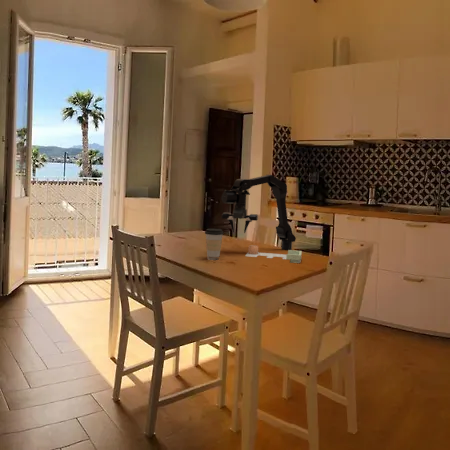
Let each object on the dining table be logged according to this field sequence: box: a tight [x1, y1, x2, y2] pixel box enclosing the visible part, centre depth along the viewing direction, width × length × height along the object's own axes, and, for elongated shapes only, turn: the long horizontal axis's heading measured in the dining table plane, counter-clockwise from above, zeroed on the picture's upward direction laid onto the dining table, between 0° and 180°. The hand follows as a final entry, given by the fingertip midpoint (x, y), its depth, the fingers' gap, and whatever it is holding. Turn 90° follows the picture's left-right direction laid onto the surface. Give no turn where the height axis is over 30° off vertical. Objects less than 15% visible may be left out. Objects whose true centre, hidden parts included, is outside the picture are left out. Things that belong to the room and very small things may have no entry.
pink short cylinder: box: [248, 244, 259, 254], centre depth 244 cm, size 5×5×4 cm
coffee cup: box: [204, 228, 225, 261], centre depth 232 cm, size 9×9×15 cm
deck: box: [245, 249, 303, 264], centre depth 240 cm, size 13×28×4 cm, turn 79°
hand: (239, 232), depth 245 cm, fingers open, 6 cm apart
